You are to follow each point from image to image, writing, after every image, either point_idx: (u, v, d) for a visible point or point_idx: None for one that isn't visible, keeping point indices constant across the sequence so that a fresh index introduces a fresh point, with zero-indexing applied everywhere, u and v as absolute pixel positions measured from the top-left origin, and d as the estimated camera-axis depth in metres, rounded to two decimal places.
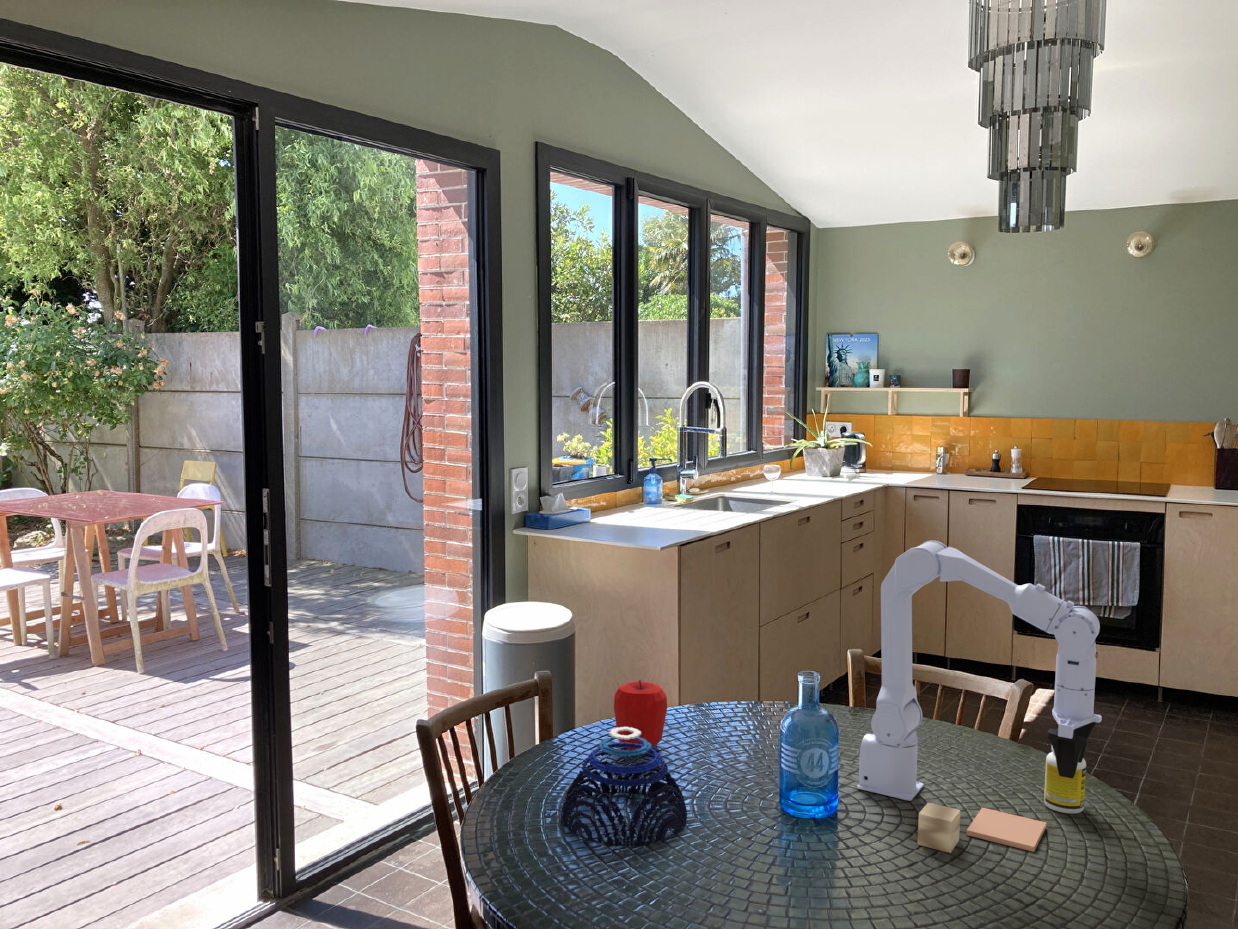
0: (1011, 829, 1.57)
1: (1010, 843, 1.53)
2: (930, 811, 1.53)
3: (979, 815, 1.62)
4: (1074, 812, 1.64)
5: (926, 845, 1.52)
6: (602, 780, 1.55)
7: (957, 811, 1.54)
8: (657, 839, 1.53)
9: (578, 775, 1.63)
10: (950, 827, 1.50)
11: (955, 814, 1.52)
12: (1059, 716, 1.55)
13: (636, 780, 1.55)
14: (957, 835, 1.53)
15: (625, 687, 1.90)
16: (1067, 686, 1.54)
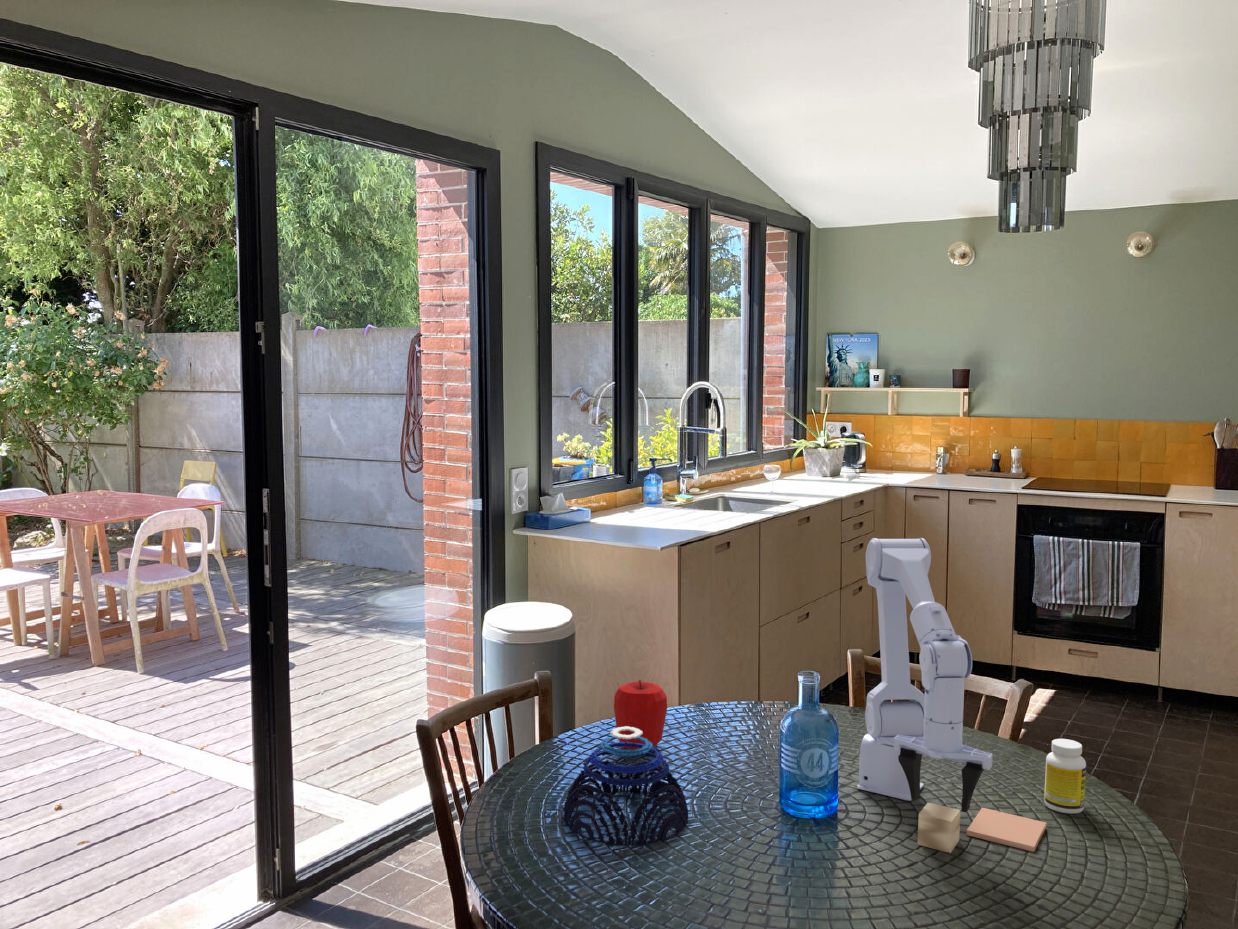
0: (1011, 829, 1.57)
1: (1010, 843, 1.53)
2: (930, 811, 1.53)
3: (979, 815, 1.62)
4: (1074, 812, 1.64)
5: (926, 845, 1.52)
6: (603, 780, 1.55)
7: (957, 811, 1.54)
8: (658, 839, 1.53)
9: (579, 775, 1.63)
10: (950, 827, 1.50)
11: (955, 814, 1.52)
12: None
13: (637, 780, 1.55)
14: (957, 835, 1.53)
15: (625, 687, 1.90)
16: (924, 714, 1.52)
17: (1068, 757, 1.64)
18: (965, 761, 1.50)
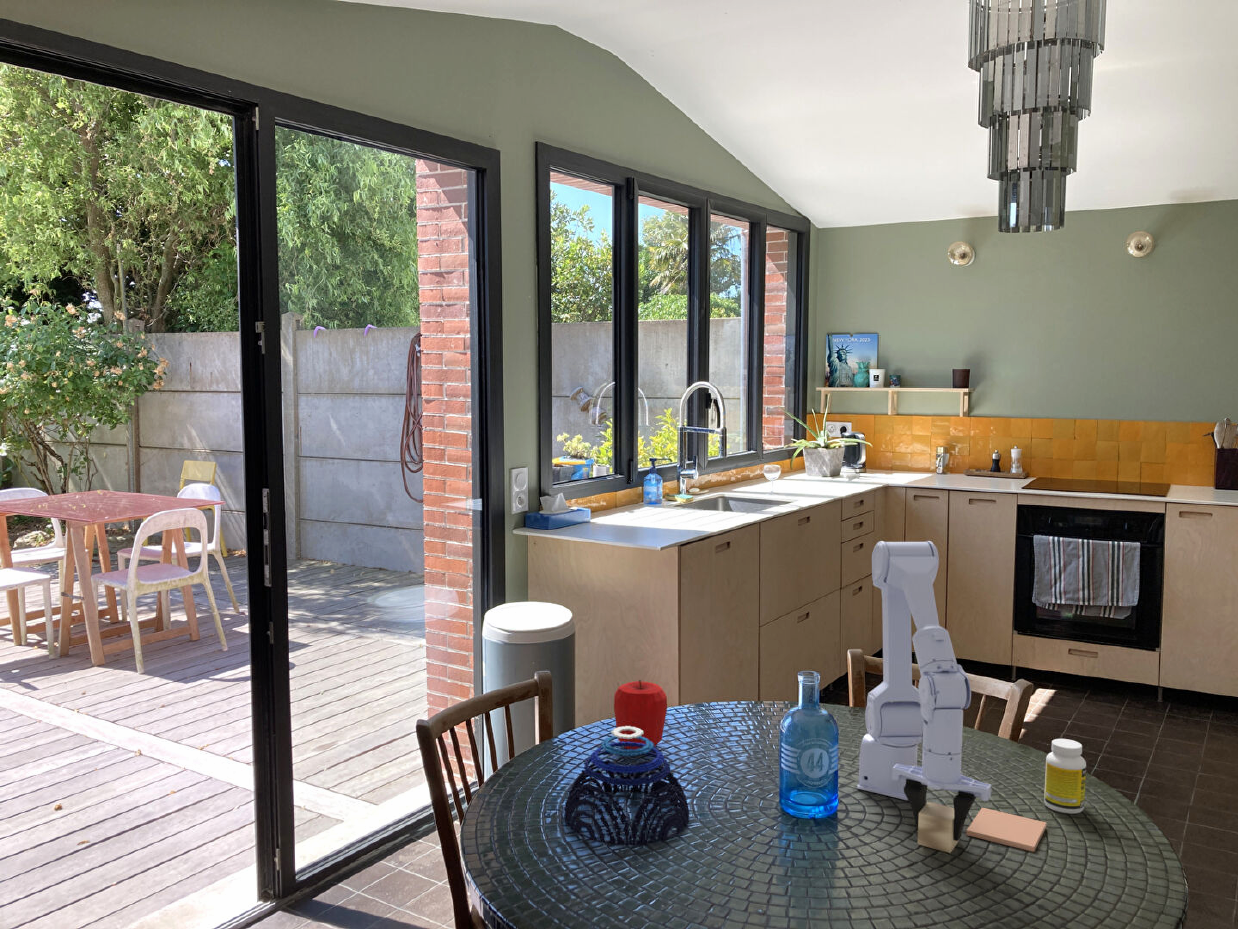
0: (1011, 829, 1.57)
1: (1010, 843, 1.53)
2: (930, 811, 1.53)
3: (979, 815, 1.62)
4: (1074, 812, 1.64)
5: (926, 844, 1.52)
6: (604, 779, 1.56)
7: None
8: (659, 838, 1.53)
9: (580, 774, 1.63)
10: (950, 826, 1.50)
11: None
12: None
13: (638, 779, 1.55)
14: None
15: (625, 687, 1.90)
16: (923, 744, 1.53)
17: (1068, 757, 1.64)
18: (964, 792, 1.51)
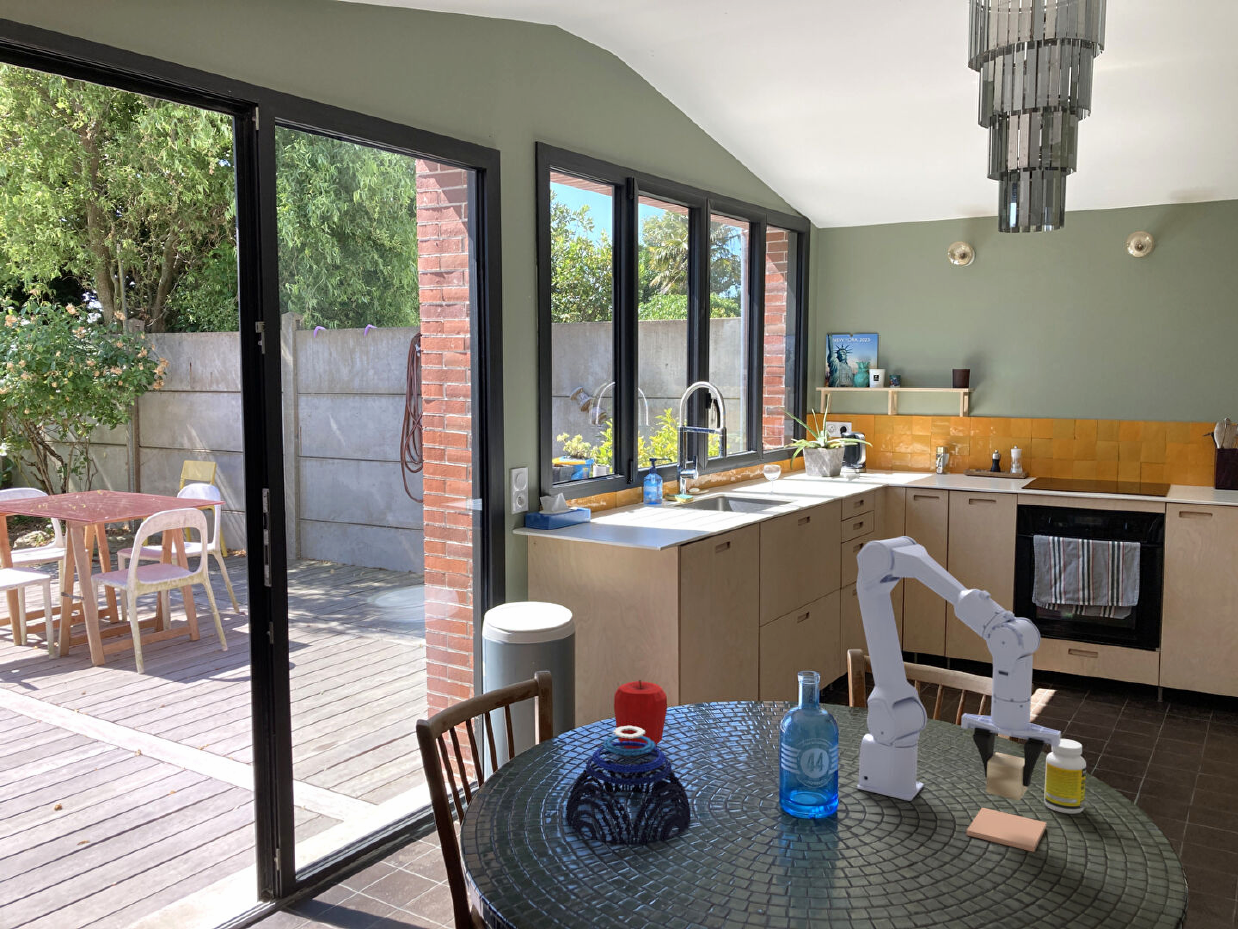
0: (1011, 829, 1.57)
1: (1010, 843, 1.53)
2: (999, 760, 1.56)
3: (979, 815, 1.62)
4: (1074, 812, 1.64)
5: (995, 792, 1.55)
6: (606, 779, 1.56)
7: None
8: (661, 838, 1.54)
9: (582, 774, 1.64)
10: (1019, 775, 1.53)
11: (1024, 763, 1.55)
12: None
13: (640, 779, 1.55)
14: None
15: (625, 687, 1.90)
16: (998, 696, 1.54)
17: (1068, 757, 1.64)
18: (1033, 738, 1.54)
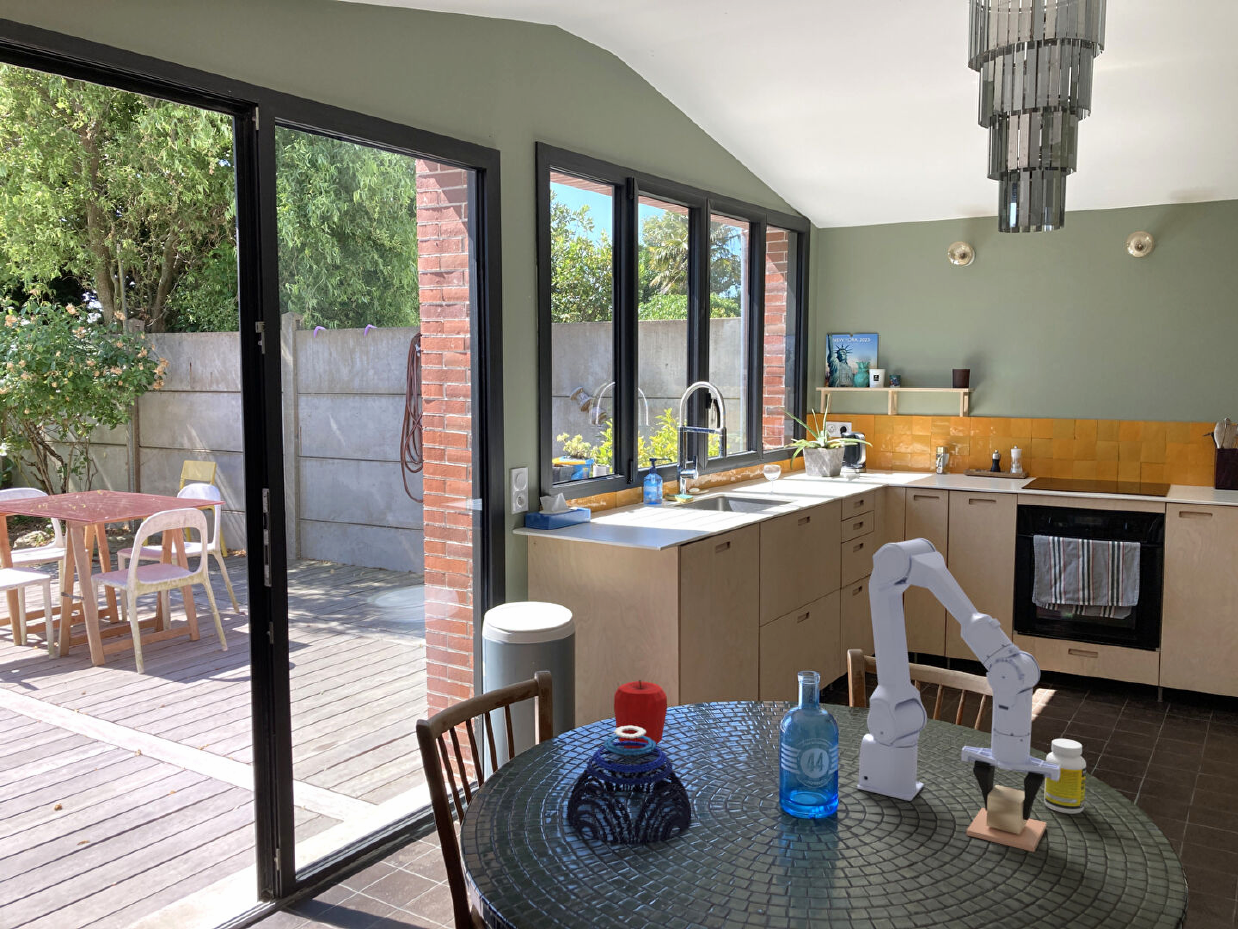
0: None
1: (1010, 843, 1.53)
2: (999, 793, 1.57)
3: (979, 815, 1.62)
4: (1074, 812, 1.64)
5: (995, 826, 1.56)
6: (607, 779, 1.56)
7: None
8: (662, 837, 1.54)
9: (583, 774, 1.64)
10: (1019, 808, 1.54)
11: (1024, 796, 1.56)
12: None
13: (641, 779, 1.55)
14: None
15: (625, 687, 1.90)
16: (998, 730, 1.55)
17: (1068, 757, 1.64)
18: (1033, 772, 1.55)
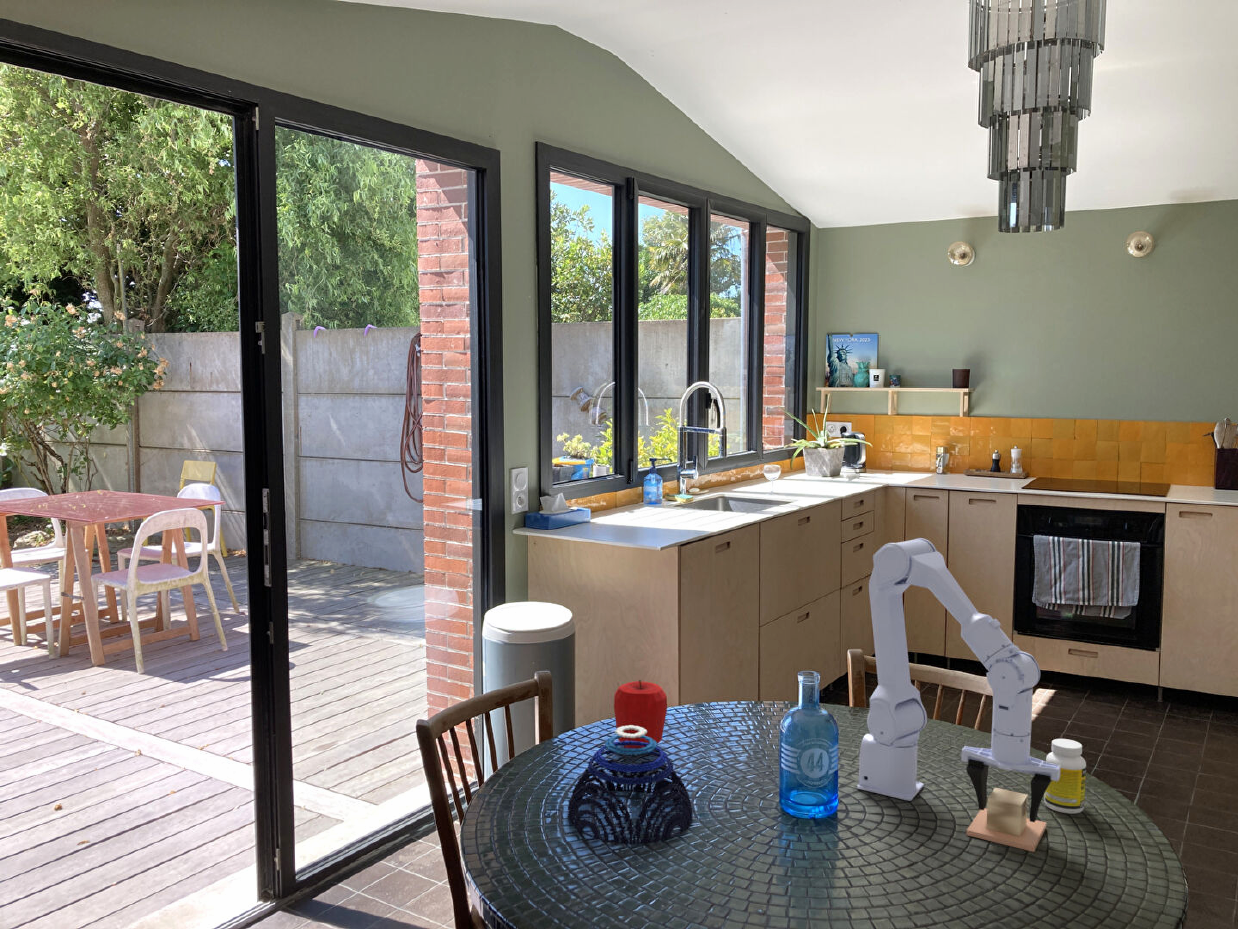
0: None
1: (1010, 843, 1.53)
2: (998, 796, 1.57)
3: (979, 815, 1.62)
4: (1074, 812, 1.64)
5: (995, 829, 1.56)
6: (608, 778, 1.56)
7: (1025, 796, 1.57)
8: (663, 837, 1.54)
9: (584, 773, 1.64)
10: (1019, 811, 1.54)
11: (1023, 799, 1.56)
12: None
13: (642, 778, 1.55)
14: (1025, 819, 1.57)
15: (625, 687, 1.90)
16: (998, 730, 1.55)
17: (1068, 757, 1.64)
18: (1033, 772, 1.55)
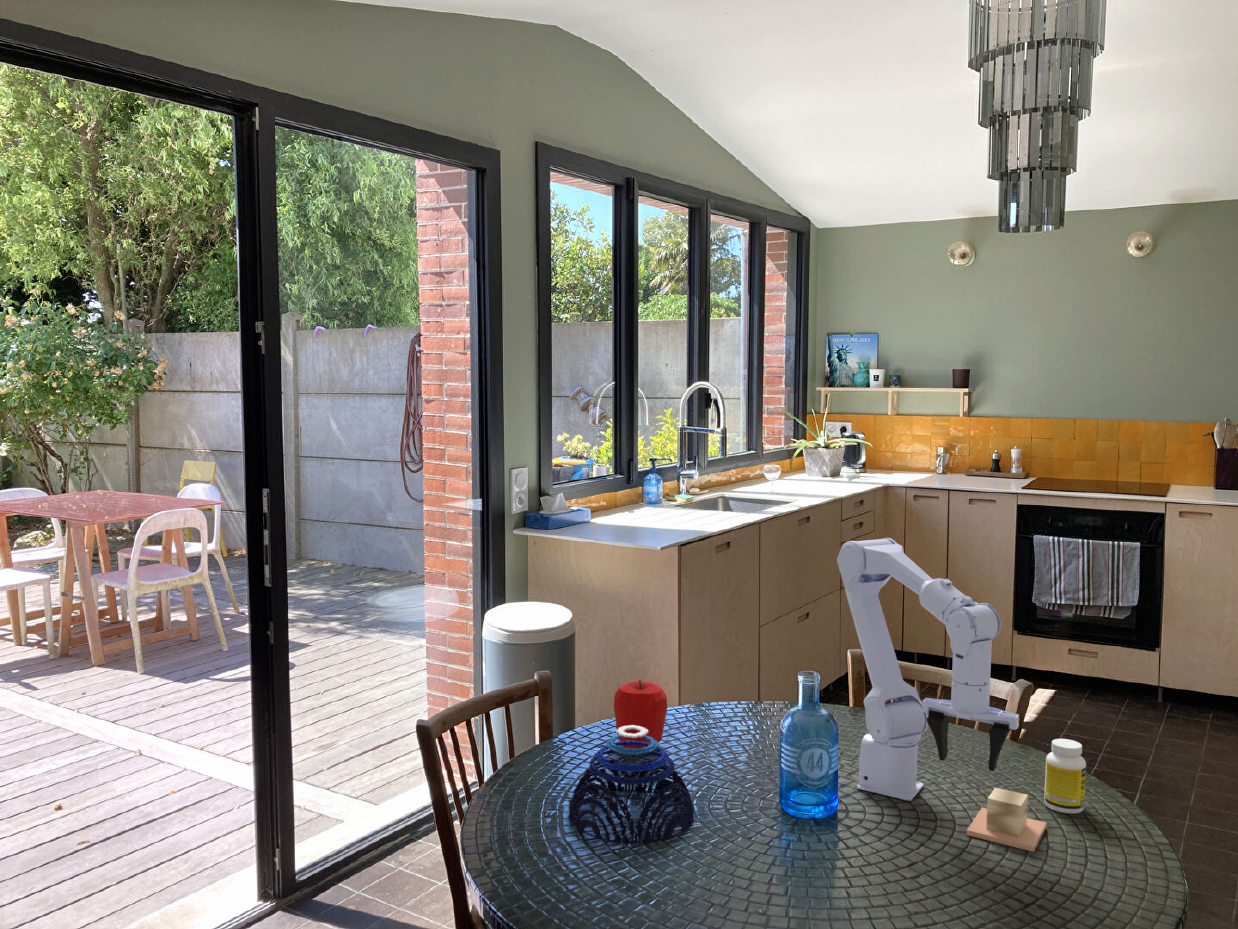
0: None
1: (1010, 843, 1.53)
2: (998, 796, 1.57)
3: (979, 815, 1.62)
4: (1074, 812, 1.64)
5: (995, 829, 1.56)
6: (609, 778, 1.56)
7: (1025, 796, 1.57)
8: (665, 837, 1.54)
9: (585, 773, 1.64)
10: (1019, 811, 1.54)
11: (1023, 799, 1.56)
12: None
13: (644, 778, 1.56)
14: (1025, 819, 1.57)
15: (625, 687, 1.90)
16: (955, 679, 1.57)
17: (1068, 757, 1.64)
18: (992, 722, 1.56)
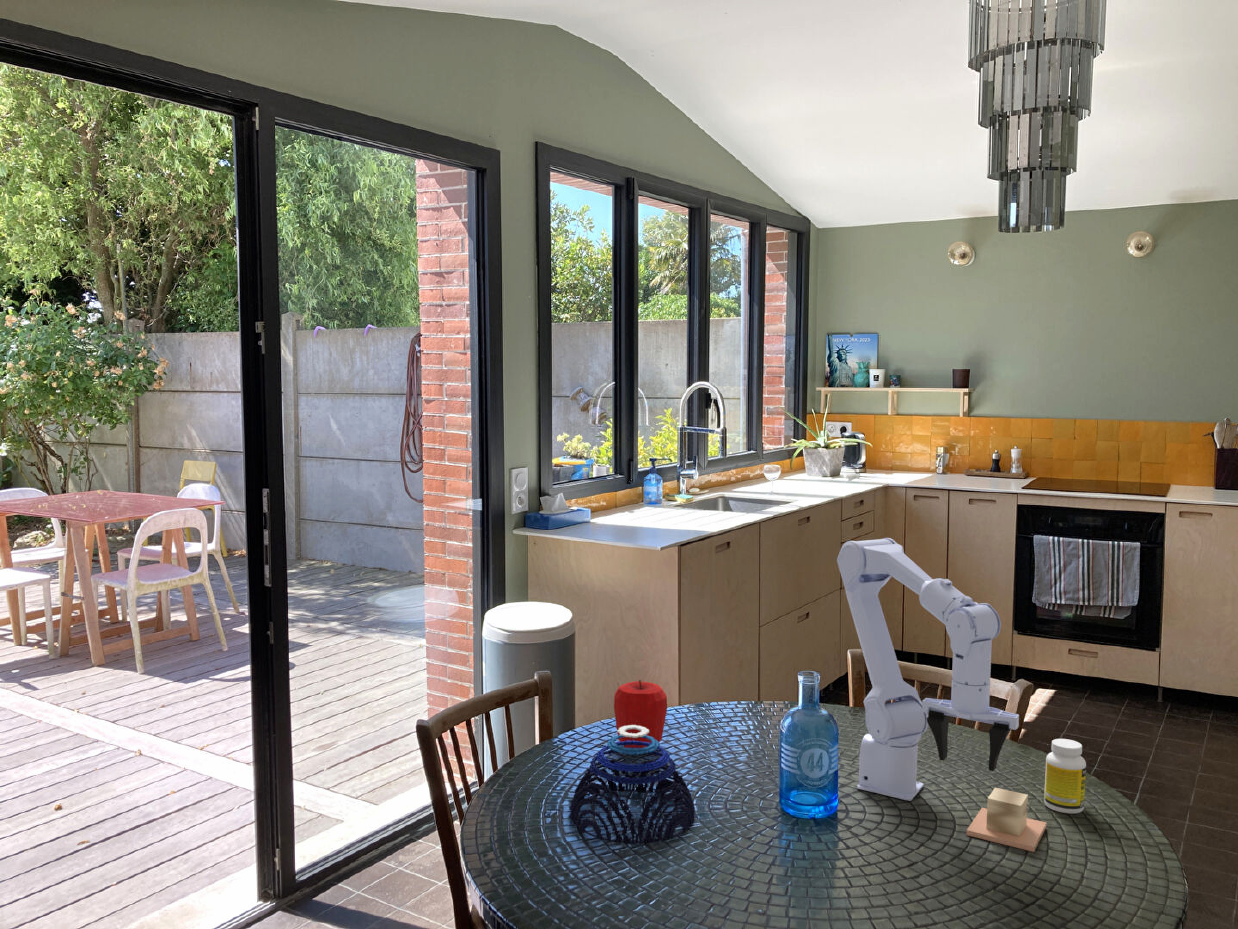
0: None
1: (1010, 843, 1.53)
2: (998, 796, 1.57)
3: (979, 815, 1.62)
4: (1074, 812, 1.64)
5: (995, 829, 1.56)
6: (610, 778, 1.56)
7: (1025, 796, 1.57)
8: (665, 836, 1.54)
9: (586, 773, 1.64)
10: (1019, 811, 1.54)
11: (1023, 799, 1.56)
12: None
13: (644, 778, 1.56)
14: (1025, 819, 1.57)
15: (625, 687, 1.90)
16: (955, 679, 1.57)
17: (1068, 757, 1.64)
18: (992, 722, 1.56)
